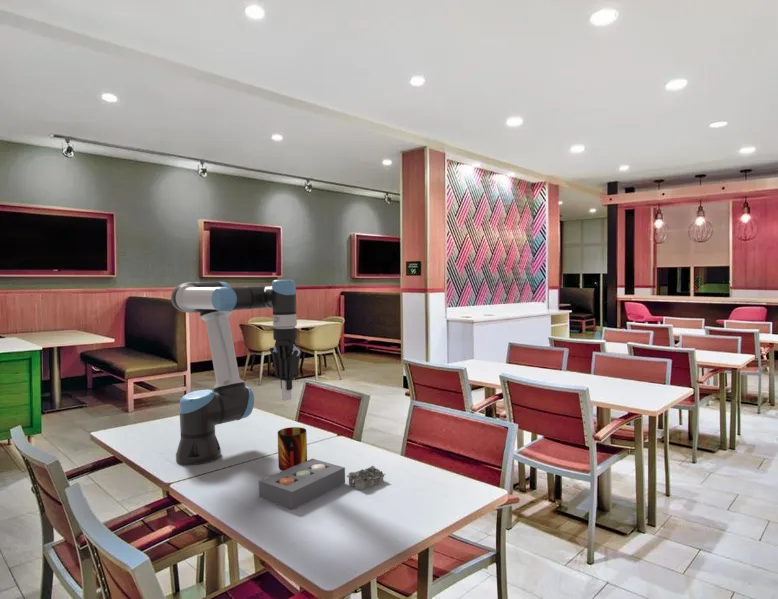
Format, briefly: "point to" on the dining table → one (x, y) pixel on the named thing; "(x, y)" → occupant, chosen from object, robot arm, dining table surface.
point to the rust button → (286, 481)
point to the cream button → (318, 467)
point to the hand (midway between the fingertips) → (286, 399)
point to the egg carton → (365, 478)
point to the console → (301, 484)
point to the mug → (291, 447)
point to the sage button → (303, 474)
